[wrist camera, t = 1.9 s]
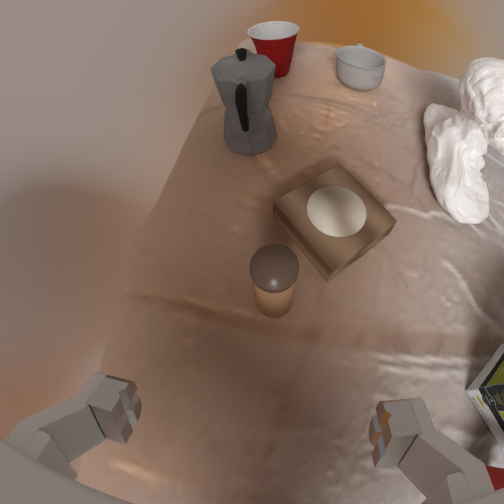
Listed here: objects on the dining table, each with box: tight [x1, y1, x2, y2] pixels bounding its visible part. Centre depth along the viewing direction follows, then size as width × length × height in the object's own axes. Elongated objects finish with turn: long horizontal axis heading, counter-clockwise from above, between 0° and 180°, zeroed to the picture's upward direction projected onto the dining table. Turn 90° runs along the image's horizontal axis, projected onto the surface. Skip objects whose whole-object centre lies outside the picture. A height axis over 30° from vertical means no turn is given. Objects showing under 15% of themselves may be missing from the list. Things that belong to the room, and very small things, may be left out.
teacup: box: [336, 44, 386, 91], centre depth 55 cm, size 14×11×8 cm
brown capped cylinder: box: [250, 244, 299, 317], centre depth 34 cm, size 5×5×11 cm
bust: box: [423, 57, 504, 224], centre depth 36 cm, size 30×19×25 cm, turn 163°
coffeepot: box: [210, 48, 277, 155], centre depth 43 cm, size 15×9×18 cm, turn 179°
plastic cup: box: [248, 21, 299, 78], centre depth 56 cm, size 11×11×12 cm
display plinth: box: [273, 164, 396, 282], centre depth 41 cm, size 12×12×4 cm
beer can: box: [485, 465, 504, 491], centre depth 19 cm, size 7×7×12 cm
